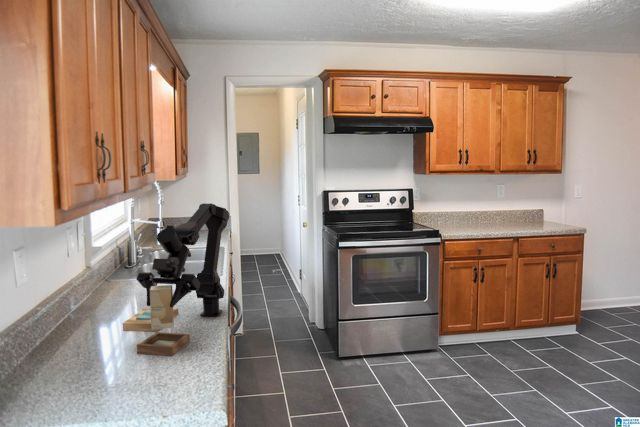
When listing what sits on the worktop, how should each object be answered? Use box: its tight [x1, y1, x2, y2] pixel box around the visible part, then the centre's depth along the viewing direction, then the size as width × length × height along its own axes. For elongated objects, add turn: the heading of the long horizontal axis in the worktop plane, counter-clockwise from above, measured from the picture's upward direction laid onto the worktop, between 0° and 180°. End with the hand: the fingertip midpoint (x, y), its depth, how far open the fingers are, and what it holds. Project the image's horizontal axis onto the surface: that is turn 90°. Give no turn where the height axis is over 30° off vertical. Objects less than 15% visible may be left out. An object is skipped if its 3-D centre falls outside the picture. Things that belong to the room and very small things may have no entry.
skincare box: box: [149, 284, 175, 330], centre depth 152 cm, size 6×4×12 cm
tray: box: [136, 331, 191, 357], centre depth 153 cm, size 11×11×2 cm
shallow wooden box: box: [122, 306, 179, 332], centre depth 177 cm, size 18×12×3 cm, turn 174°
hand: (159, 306), depth 150 cm, fingers closed on skincare box, 7 cm apart
